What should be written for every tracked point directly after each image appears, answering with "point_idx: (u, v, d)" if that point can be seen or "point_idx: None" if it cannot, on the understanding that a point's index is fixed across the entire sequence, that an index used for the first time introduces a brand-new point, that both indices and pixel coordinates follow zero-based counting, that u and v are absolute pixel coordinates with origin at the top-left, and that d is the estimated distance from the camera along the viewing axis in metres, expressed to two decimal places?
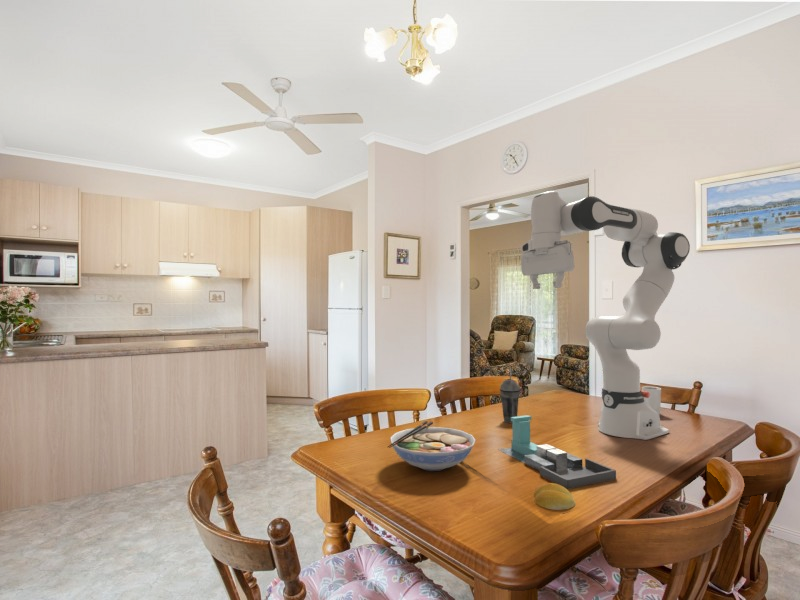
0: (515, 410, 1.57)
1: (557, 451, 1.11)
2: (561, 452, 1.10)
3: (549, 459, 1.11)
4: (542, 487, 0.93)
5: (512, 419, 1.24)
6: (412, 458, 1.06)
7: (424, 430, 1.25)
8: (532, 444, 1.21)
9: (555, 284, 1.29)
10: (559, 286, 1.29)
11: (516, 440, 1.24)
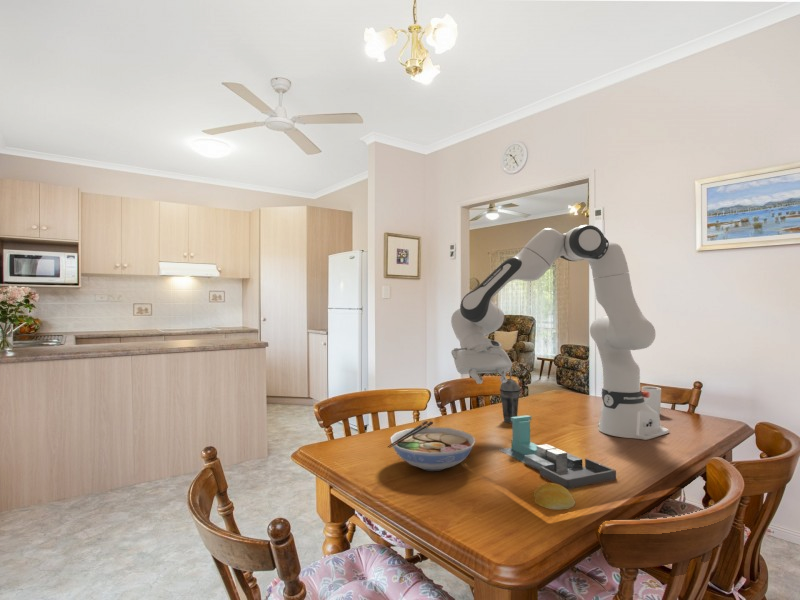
0: (515, 410, 1.57)
1: (557, 451, 1.11)
2: (561, 452, 1.10)
3: (549, 459, 1.11)
4: (542, 487, 0.93)
5: (512, 419, 1.24)
6: (412, 458, 1.06)
7: (424, 430, 1.25)
8: (532, 444, 1.21)
9: None
10: (478, 381, 1.35)
11: (516, 440, 1.24)
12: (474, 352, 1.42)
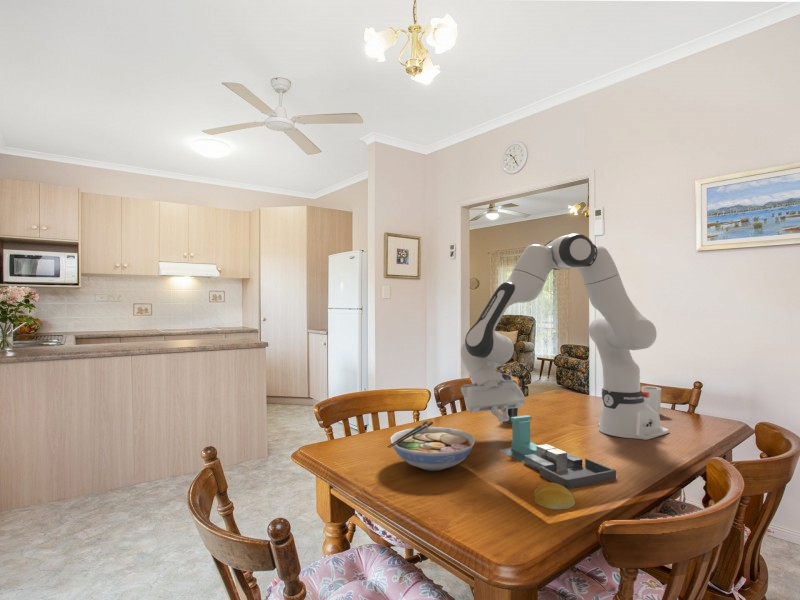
0: (515, 410, 1.57)
1: (557, 451, 1.11)
2: (561, 452, 1.10)
3: (549, 459, 1.11)
4: (542, 487, 0.94)
5: (512, 419, 1.24)
6: (412, 458, 1.06)
7: (424, 430, 1.25)
8: (532, 444, 1.21)
9: None
10: (500, 419, 1.31)
11: (516, 440, 1.24)
12: (484, 388, 1.36)
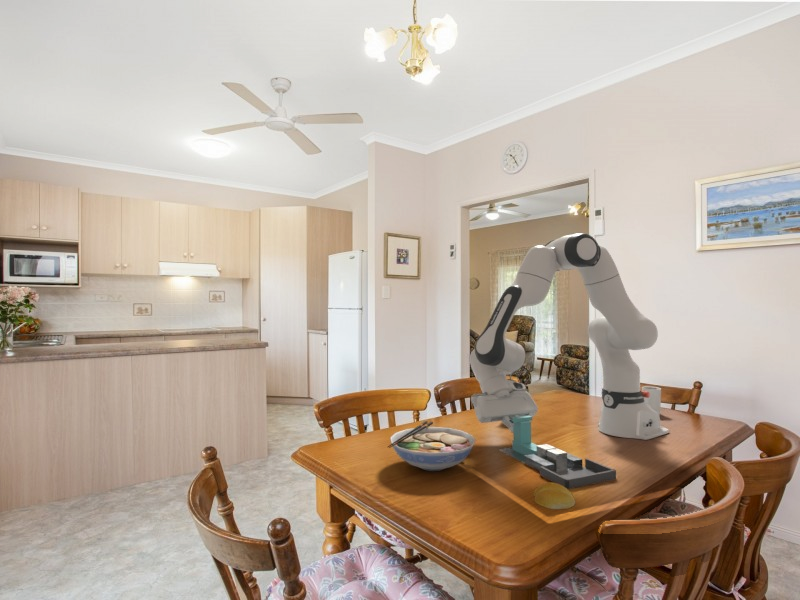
0: None
1: (557, 451, 1.11)
2: (561, 452, 1.10)
3: (549, 459, 1.11)
4: (542, 486, 0.94)
5: (512, 419, 1.23)
6: (412, 458, 1.06)
7: (424, 430, 1.25)
8: (533, 445, 1.21)
9: None
10: (512, 430, 1.26)
11: (517, 440, 1.23)
12: (495, 397, 1.31)
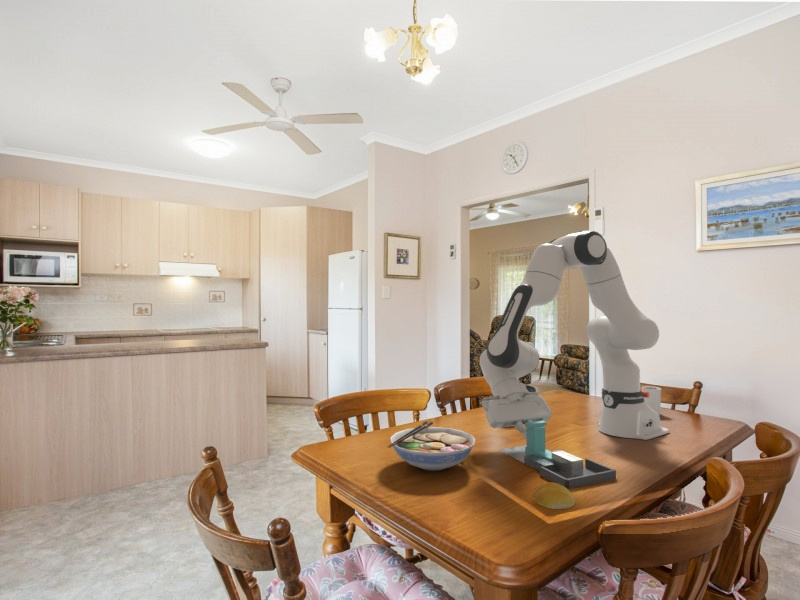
0: None
1: (572, 458, 1.06)
2: (577, 459, 1.05)
3: (564, 466, 1.06)
4: (542, 486, 0.94)
5: (526, 425, 1.17)
6: (412, 458, 1.06)
7: (424, 430, 1.25)
8: (548, 451, 1.15)
9: None
10: (525, 436, 1.20)
11: (530, 447, 1.17)
12: (507, 401, 1.25)
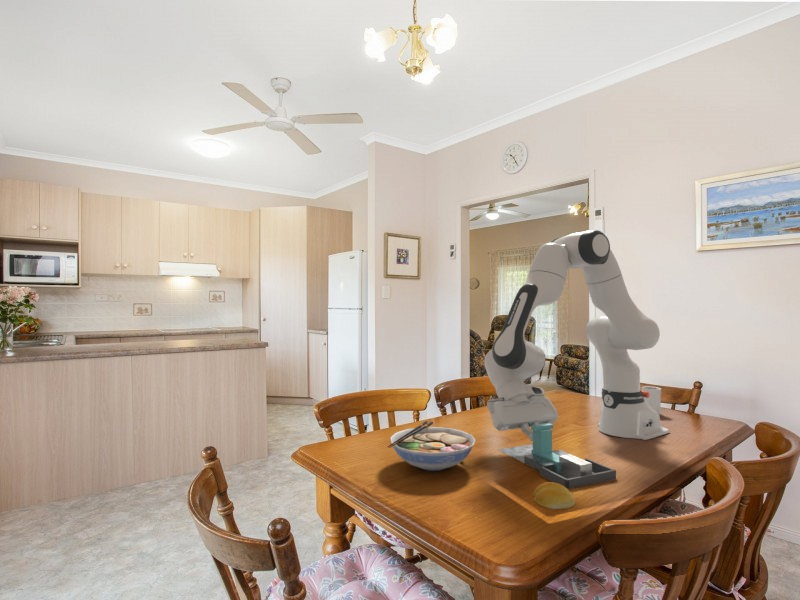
0: None
1: (580, 461, 1.03)
2: (585, 463, 1.02)
3: (572, 470, 1.03)
4: (542, 486, 0.94)
5: (532, 428, 1.15)
6: (412, 458, 1.06)
7: (424, 430, 1.25)
8: (554, 455, 1.12)
9: None
10: (532, 439, 1.17)
11: (537, 450, 1.15)
12: (513, 403, 1.23)
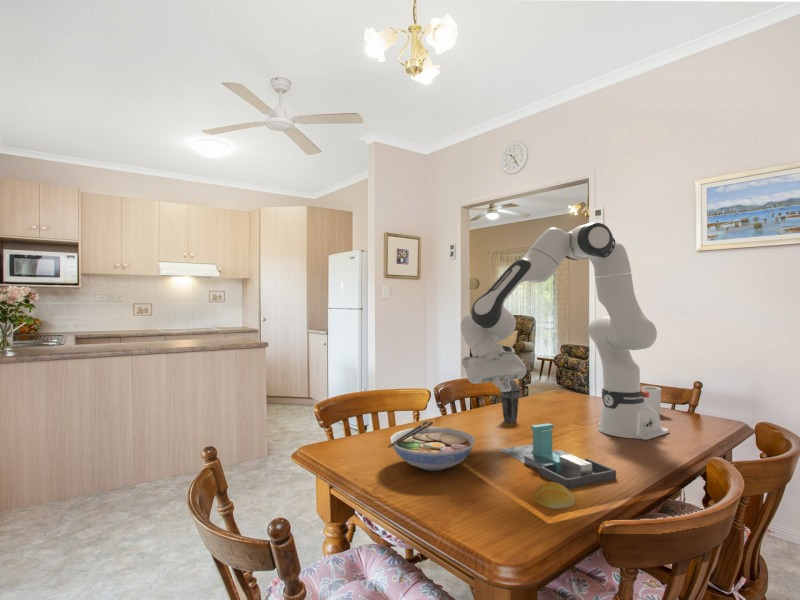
0: (515, 410, 1.57)
1: (580, 461, 1.03)
2: (585, 463, 1.02)
3: (572, 470, 1.03)
4: (542, 486, 0.94)
5: (532, 428, 1.15)
6: (412, 458, 1.06)
7: (424, 430, 1.25)
8: (555, 455, 1.12)
9: None
10: (502, 390, 1.31)
11: (537, 450, 1.15)
12: (486, 360, 1.36)
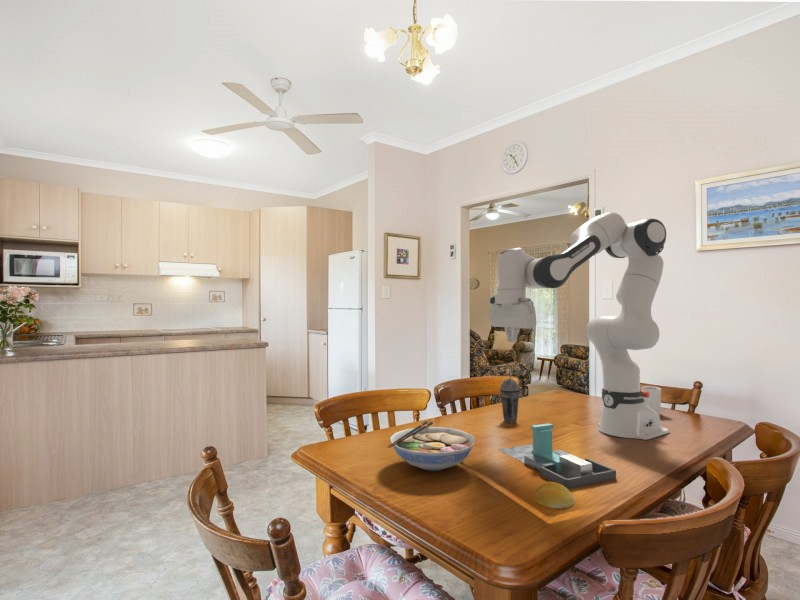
0: (515, 410, 1.57)
1: (580, 461, 1.03)
2: (585, 463, 1.02)
3: (572, 470, 1.03)
4: (542, 486, 0.94)
5: (532, 428, 1.15)
6: (412, 458, 1.06)
7: (424, 430, 1.25)
8: (555, 455, 1.12)
9: (511, 339, 1.37)
10: (515, 341, 1.37)
11: (537, 450, 1.15)
12: None
